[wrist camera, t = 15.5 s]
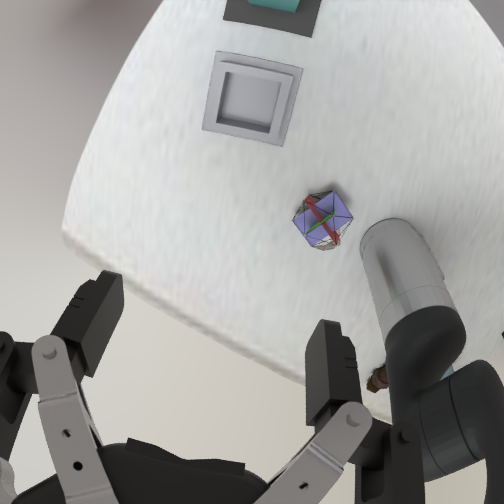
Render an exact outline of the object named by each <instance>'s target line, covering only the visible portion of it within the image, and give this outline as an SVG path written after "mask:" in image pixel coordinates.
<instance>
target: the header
mask: <svg viewBox="0 0 504 504" xmlns="http://www.w3.org/2000/svg"><path fill="white" fill-rule="evenodd" d="M302 71H303V69H302V68H298V67H294V66H290V65H286V64H282V63H278V62H273V61H269V60H264V59H259V58H254V57H249V56H244V55H238V54H232V53H226V52H220V51H216V54H215V59H214V64H213V69H212V74H211V80H210V85H209V90H208V96H207V101H206V107H205V113H204V119H203V125H202V130H206V131H211V132H217V133H222V134H227V135H232V136H237V137H242V138H246V139H251V140H255V141H260V142H264V143H269V144H273V145H277V146H281V147H283V143H284V139H285V135H286V131H287V128H288V124H289V120H290V116H291V113H292V109H293V105H294V101H295V97H296V94H297V90H298V86H299V82H300V78H301V75H302Z"/></svg>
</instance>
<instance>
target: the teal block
mask: <svg viewBox="0 0 504 504" xmlns="http://www.w3.org/2000/svg"><path fill="white" fill-rule="evenodd" d="M247 1H248V2H249V3H250V4H252V5H257V6H263V7H268V8H273V9H278V10H283V11H287V12H292V13H295V11H296V9H297V6H298V3H299V1H300V0H247Z"/></svg>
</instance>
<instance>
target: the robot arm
mask: <svg viewBox="0 0 504 504" xmlns="http://www.w3.org/2000/svg"><path fill="white" fill-rule="evenodd" d="M360 254H361V258H362V261H363V265H364V268H365V272H366V275H367V279H368V282H369V286H370V290H371V293H372V297H373V301H374V304H375V308H376V312H377V316H378V320H379V324H380V328H381V332H382V336H383V340H384V345H385V350H386V354H387V356H386V372H387V378H388V385H389V393H390V402H391V413H392V424H393V425H391V424H388V423H385V422H383V421H380V420H377V419H375V418H373V417H372V416H371V413H370V411H369V410H368V409H367V408H366V407H365V406H364V405H363V403H362V396H361V388H360V380H359V373H358V370H357V368H358V366H357V361H356V352H355V347H354V345H353V344H352V342H351V340H350V338H349V337H346V336H342V332H341V325H340V323H339V322H335V321H329V320H324V319H321V320H320V321H319V323H318V325H317V326H316V328H315V330H314V332H313V334H312V336H311V338H310V339H309V341H308V344H307V347H306V352H305V371H306V425H307V426H315V434H314V435H313V436H312V437H311V438H310V439H309V440H308V441H307V442H306V444H305V445H304V446H303V447H302V448H301V449H300V450H299V451H298V452H297V454H296V455H295V456H294V457H293V458H292V459H291V460H290V461H289V462H288V463H287V464H286V465H285V466H284V467H283V468H282V469H281V470H280V471H279V472H278V473H277V474H276V475H275V476H274V477H273V478H271V479H270V481H269V482H267V483H266V482H265V481H264V480H262V478H260V477H259V476H257V475H255V474H254V473H252V472H250V471H248V470H245V463H240V462H233V461H227V460H221V459H196V460H186V459H182V458H180V457H178V456H176V455H174V454H172V453H170V452H168V451H166V450H164V449H162V448H160V447H158V446H156V445H153V444H149V443H145V442H142V441H138V440H135V439H132V438H128V440H127V443H115V444H109V445H106V446H103V443H102V441H101V438H100V436H99V433H98V431H97V429H96V427H95V424H94V422H93V419H92V416H91V413H90V411H89V407H88V405H87V401H86V398H85V395H84V392H83V389H82V385H81V381H82V379H83V377H84V375H86V376H89V377H92V378H93V376H94V373H95V371H96V369H97V367H98V364H99V362H100V360H101V358H102V355H103V353H104V351H105V349H106V346H107V344H108V342H109V340H110V338H111V336H112V333H113V331H114V329H115V327H116V325H117V323H118V321H119V319H120V317H121V314H122V312H123V307H124V294H123V293H124V292H123V280H122V275H121V274H118V273H114V272H111V271H107V270H103V271H102V272H101V274H100V275H99V277H98V278H97V280H96V281H94V280H91V279H90V280H88V281H87V282H85V283H84V284H83V285H81V286H80V287H79V289H78V290H77V292H76V294H75V295H74V298H72V299H71V301H70V303H69V305H68V306H67V307H66V309H65V311H64V313H63V314H62V316H61V317H60V319H59V321H58V322H57V324H56V326H55V327H54V329H53V331H52V332H51V334H50V335H46V336H43V337H41V338H39V339H38V340H37V341H36V342H35V343H26V342H14V340H13V338H12V337H11V335H9V334H8V333H6V332H2V331H0V504H318V503H319V502H320V501H321V500H322V498H323V497H324V496H325V495H326V494H327V492H328V491H329V490H330V489H331V487H332V486H333V485H334V484H335V482H336V481H337V480H338V479H339V477H340V476H341V474H342V473H343V471H344V469H343V466H344V465H345V464H346V462H349V463H352V464H355V504H425V486H424V482H429V481H432V480H435V479H438V478H441V477H443V476H446V475H448V474H451V473H454V472H456V471H458V470H461V469H463V468H465V467H467V466H469V465H472V464H474V463H476V462H478V461H480V460H482V459H484V458H485V460H486V467H487V488H486V495H485V500H484V504H504V386H503V384H502V382H501V380H500V378H499V376H498V374H497V372H496V371H495V369H494V368H493V367H492V366H491V365H490V364H489V363H488V362H486V361H484V360H476V361H474V362H471V363H470V364H468V365H466V366H464V367H463V368H461V369H459V370H457V371H456V372H454V373H452V374H451V375H449V376H447V377H445V378H443V379H442V380H441V378H442V377H443V375H444V374H445V372H446V371H447V370H448V369H449V367H450V366H451V365H452V364H453V363H454V361H455V360H456V359H457V358H458V356H459V355H460V354H461V352H462V350H463V348H464V345H465V342H466V331H465V327H464V325H463V322H462V320H461V318H460V316H459V314H458V311H457V309H456V307H455V305H454V303H453V301H452V299H451V297H450V295H449V293H448V291H447V288H446V286H445V284H444V282H443V280H444V274H443V272H442V270H441V269H440V267H439V265H438V263H437V261H436V259H435V258H434V256H433V254H432V252H431V250H430V249H429V247H428V245H427V243H426V242H425V240H424V238H423V236H421V235H418V234H417V233H416V231H415V229H414V228H413V227H412V226H411V224H409V223H408V222H406V221H403V220H400V219H387V220H384V221H381V222H379V223H377V224H375V225H374V226H372V227H371V228H370V229H369V230H368V231H367V232H366V233H365V235H364V237H363V238H362V241H361V244H360ZM32 394H39V397H40V402H38V409H39V414H40V418H41V422H42V426H43V430H44V434H45V437H46V441H47V444H48V448H49V451H50V454H51V457H52V460H53V463H54V466H55V469H56V472H57V473H56V474H54V475H53V476H51V477H49V478H47V479H46V480H44V481H42V482H40V483H38V484H37V485H35V486H33V487H31V488H29V489H28V490H26V491H24V492H22V493H20V494H19V495H18V496H17V494H16V492H15V489H14V471H13V468H12V466H11V465H10V464H9V462H8V461H9V458H10V454H11V451H12V448H13V445H14V442H15V439H16V436H17V433H18V431H19V428H20V425H21V422H22V419H23V416H24V414H25V411H26V409H27V406H28V404H29V401H30V398H31V396H32Z"/></svg>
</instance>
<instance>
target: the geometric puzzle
mask: <svg viewBox="0 0 504 504" xmlns="http://www.w3.org/2000/svg"><path fill="white" fill-rule="evenodd" d="M329 192H331V193H330V194H329V195H327V196H326V197H324V198H323V199H321V200H320V201H319V202H317V203H315V202H314V200H313V199H312V198H314V197H315V198H317V196H313V197H312V198H311V196H312V195H314V194H312V195H310V194H309V196H308V197H307V198H306V199H305V200H303V201H305V202H304V203H306V204H307V205H308V207H309V209H308V210H306V211H305V212H303V213H302V214H301V215H299V216H298V217H296V218H295V216H294V218H295V219H294V218H293V219H294V220H292V221H293V222H294V224H295V225H296V226H297V228H298V229H299V230H300V232H301V233H302V234H303V236H304V237H305V239H306V240H307V241H308V243H309V244H310V245H311V247H314V248H317V249H320V250H323V251H325V250H330V249H333V248H335V247H337V246H339V245H340V238H339V237H340V235H341V234H340V235H338V234H337V232H336V231H335V230H337V229H338V228H340V227H341V226H343V225H344V224H346V223H347V222H349V221H350V220H351V222H352V220H353V219H354V217H353V216H352V215H351V213H350V212H349V211H348V209H347V208H346V206H345V205H344V203H343V202H342V201H341V199H340V198H339V196H338V195H337V194H336V192H335V190H334V191H333V192H332V191H329ZM329 192H328V193H329ZM323 193H325V192H323ZM317 194H319V193H317ZM325 194H326V193H325ZM322 195H323V194H322ZM318 196H320V195H318ZM318 199H320V198H318ZM302 203H303V202H302ZM301 205H302V204H301ZM302 206H303V205H302ZM300 209H301V208H300ZM298 210H299V209H298ZM297 212H299V211H297ZM296 215H297V214H296ZM348 225H350V224H348ZM348 225H347V226H348ZM344 230H345V229H344ZM344 230H343V231H344ZM346 230H347V229H346ZM344 233H345V232H344ZM328 235H329V236H330V237H331V239H332V240H333V241H331V242H330V243H328V242H327V243H328V244H327V245H320V246H314V244H316V243H317V242H319V241H320V240H321V241H322V239H323V238H325V237H326V236H328ZM342 236H343V235H342ZM341 238H342V237H341ZM331 239H329V240H331ZM327 241H328V240H327ZM324 242H325V241H324ZM321 243H322V242H321ZM318 244H320V243H318ZM316 245H317V244H316Z"/></svg>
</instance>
